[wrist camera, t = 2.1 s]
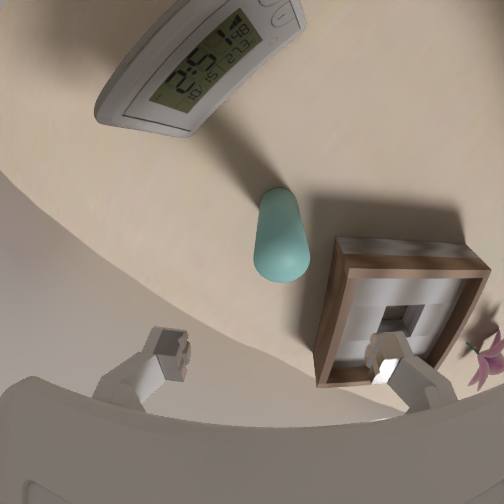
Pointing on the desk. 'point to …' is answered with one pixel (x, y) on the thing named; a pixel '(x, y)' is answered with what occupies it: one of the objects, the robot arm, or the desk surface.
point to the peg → (280, 238)
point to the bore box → (394, 302)
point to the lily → (489, 361)
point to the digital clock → (195, 62)
